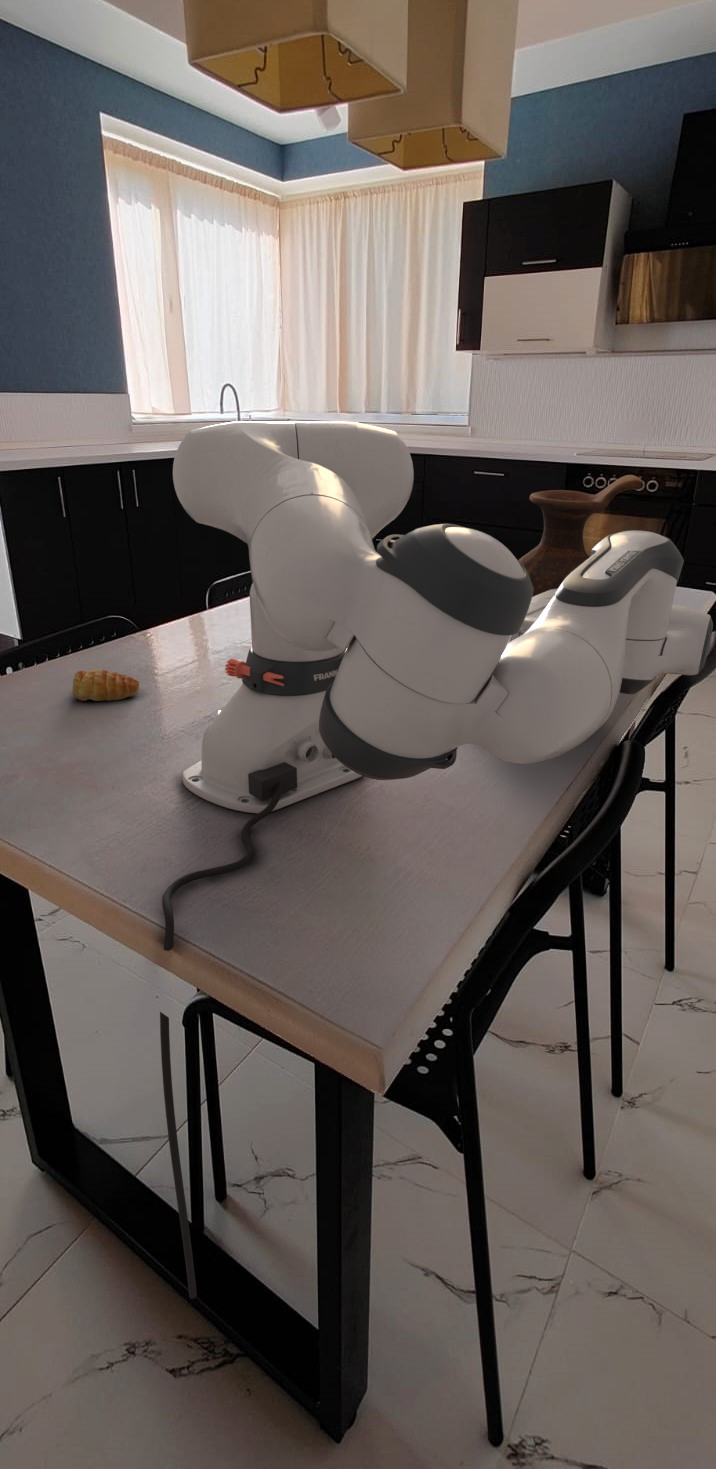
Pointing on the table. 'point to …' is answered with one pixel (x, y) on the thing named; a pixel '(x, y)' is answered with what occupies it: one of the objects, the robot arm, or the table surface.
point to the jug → (566, 531)
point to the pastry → (103, 685)
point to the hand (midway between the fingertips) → (490, 607)
